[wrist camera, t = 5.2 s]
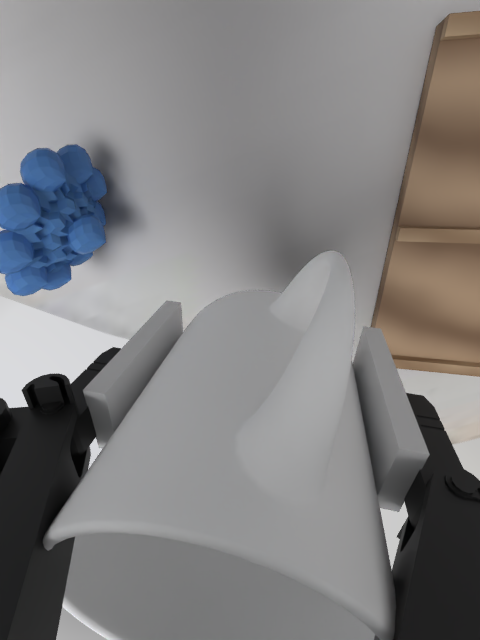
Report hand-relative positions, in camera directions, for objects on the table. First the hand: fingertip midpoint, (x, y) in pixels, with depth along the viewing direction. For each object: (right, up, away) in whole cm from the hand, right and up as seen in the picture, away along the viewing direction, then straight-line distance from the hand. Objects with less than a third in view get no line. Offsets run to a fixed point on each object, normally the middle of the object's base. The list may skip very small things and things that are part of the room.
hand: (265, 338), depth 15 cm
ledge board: (+16, +8, +10) cm, 21 cm away
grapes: (-14, +11, +15) cm, 23 cm away
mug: (+1, 0, +1) cm, 1 cm away
